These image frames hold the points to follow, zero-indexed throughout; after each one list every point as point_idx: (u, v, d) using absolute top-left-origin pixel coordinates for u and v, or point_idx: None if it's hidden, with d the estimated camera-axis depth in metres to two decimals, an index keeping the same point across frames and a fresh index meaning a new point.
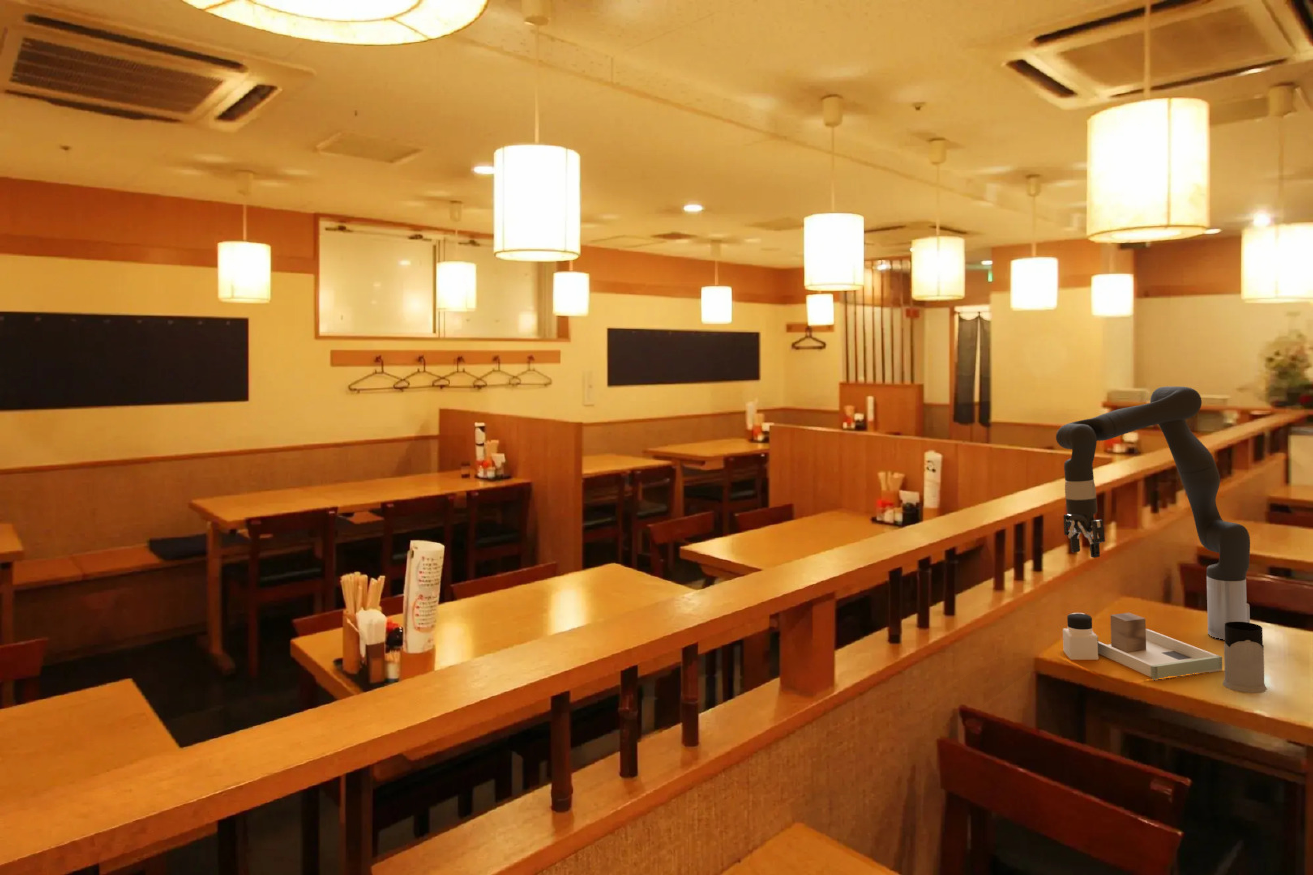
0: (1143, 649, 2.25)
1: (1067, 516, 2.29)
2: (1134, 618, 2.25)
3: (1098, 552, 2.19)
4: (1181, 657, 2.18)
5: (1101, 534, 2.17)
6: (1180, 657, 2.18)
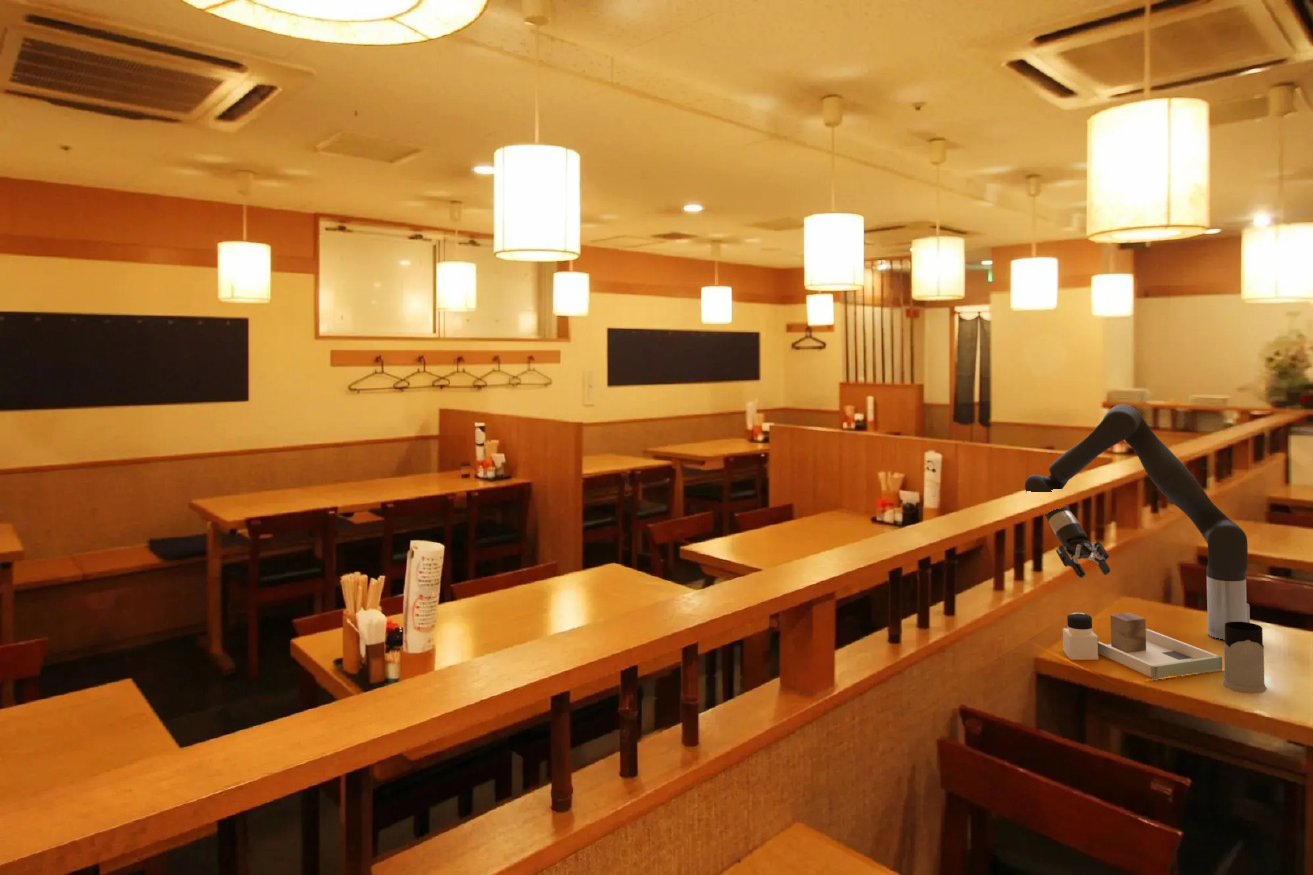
0: (1143, 649, 2.25)
1: None
2: (1134, 618, 2.25)
3: (1078, 571, 2.38)
4: (1181, 657, 2.18)
5: None
6: (1180, 657, 2.18)
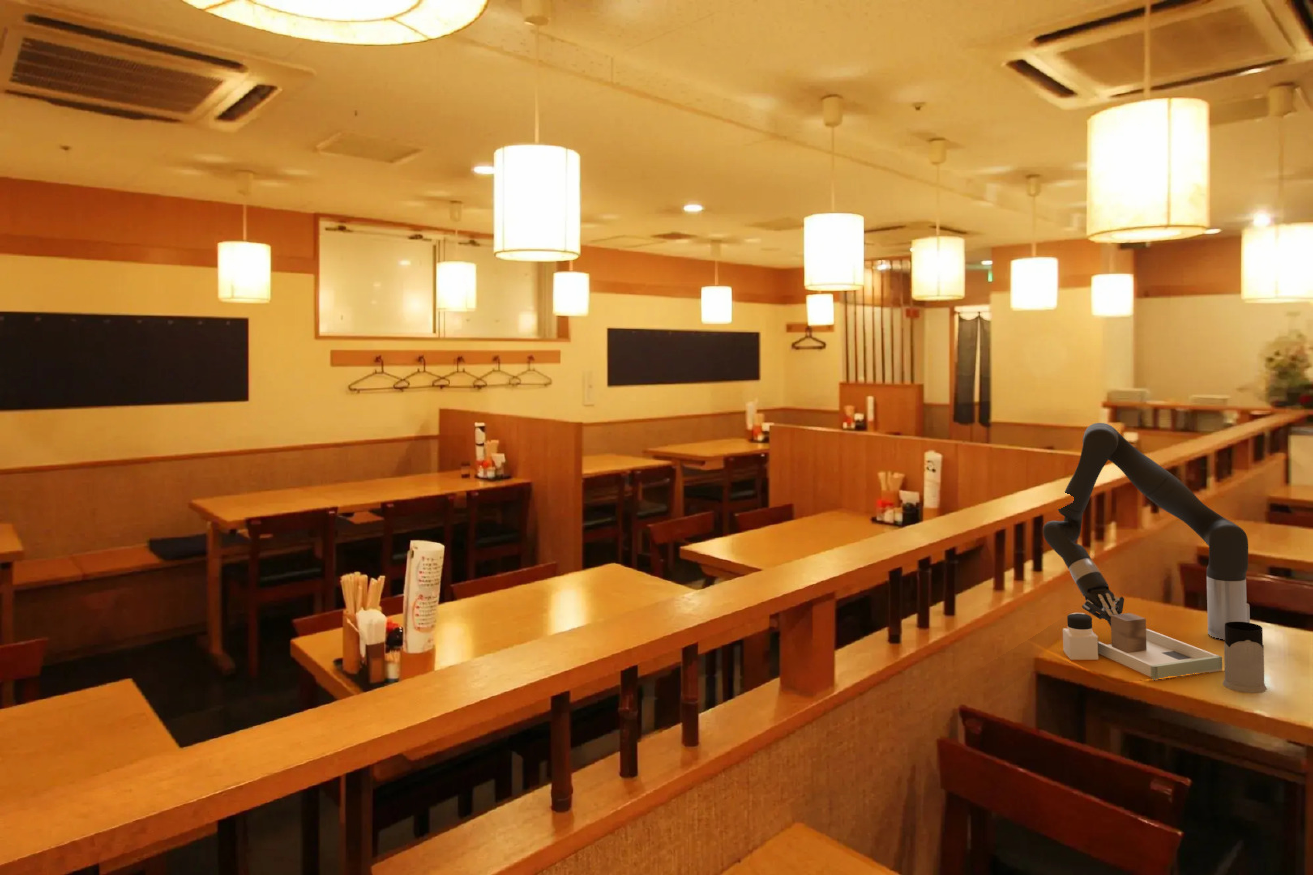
0: (1143, 649, 2.25)
1: None
2: (1134, 618, 2.25)
3: None
4: (1181, 657, 2.18)
5: None
6: (1180, 657, 2.18)
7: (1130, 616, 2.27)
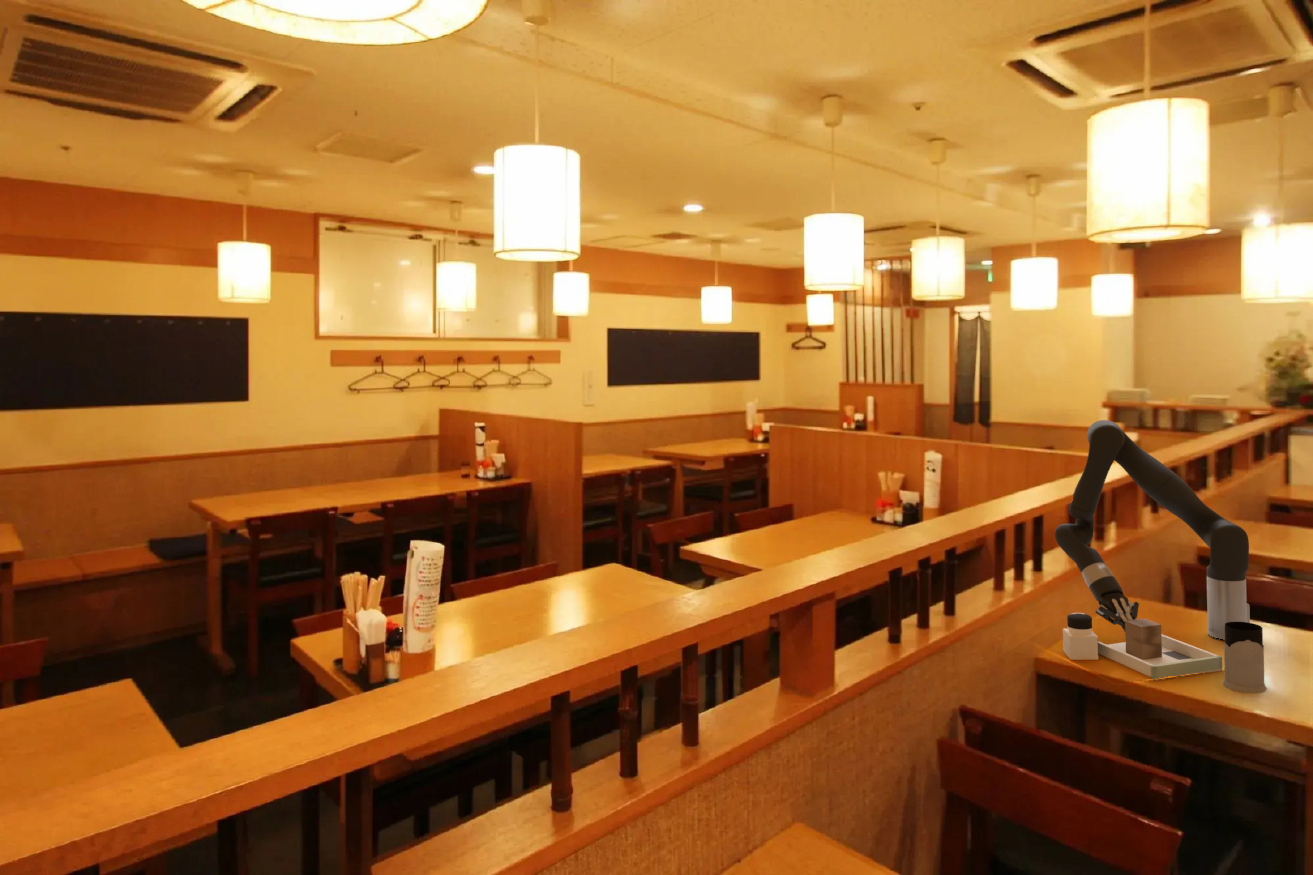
0: (1159, 656, 2.19)
1: None
2: (1149, 624, 2.20)
3: None
4: (1181, 657, 2.18)
5: None
6: (1180, 657, 2.18)
7: (1145, 622, 2.22)
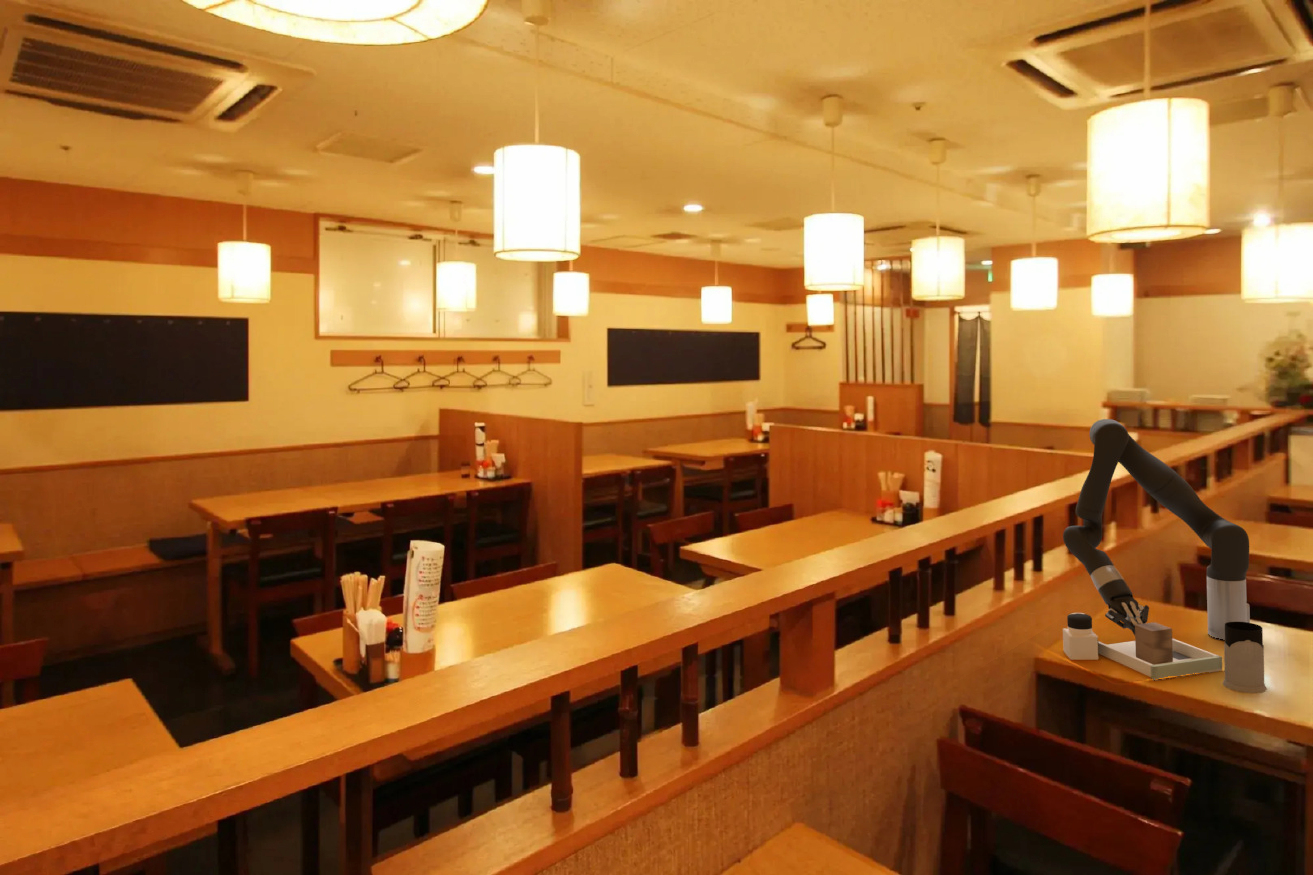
0: (1169, 660, 2.16)
1: None
2: (1160, 628, 2.16)
3: None
4: (1181, 657, 2.18)
5: None
6: (1180, 657, 2.18)
7: (1155, 626, 2.18)
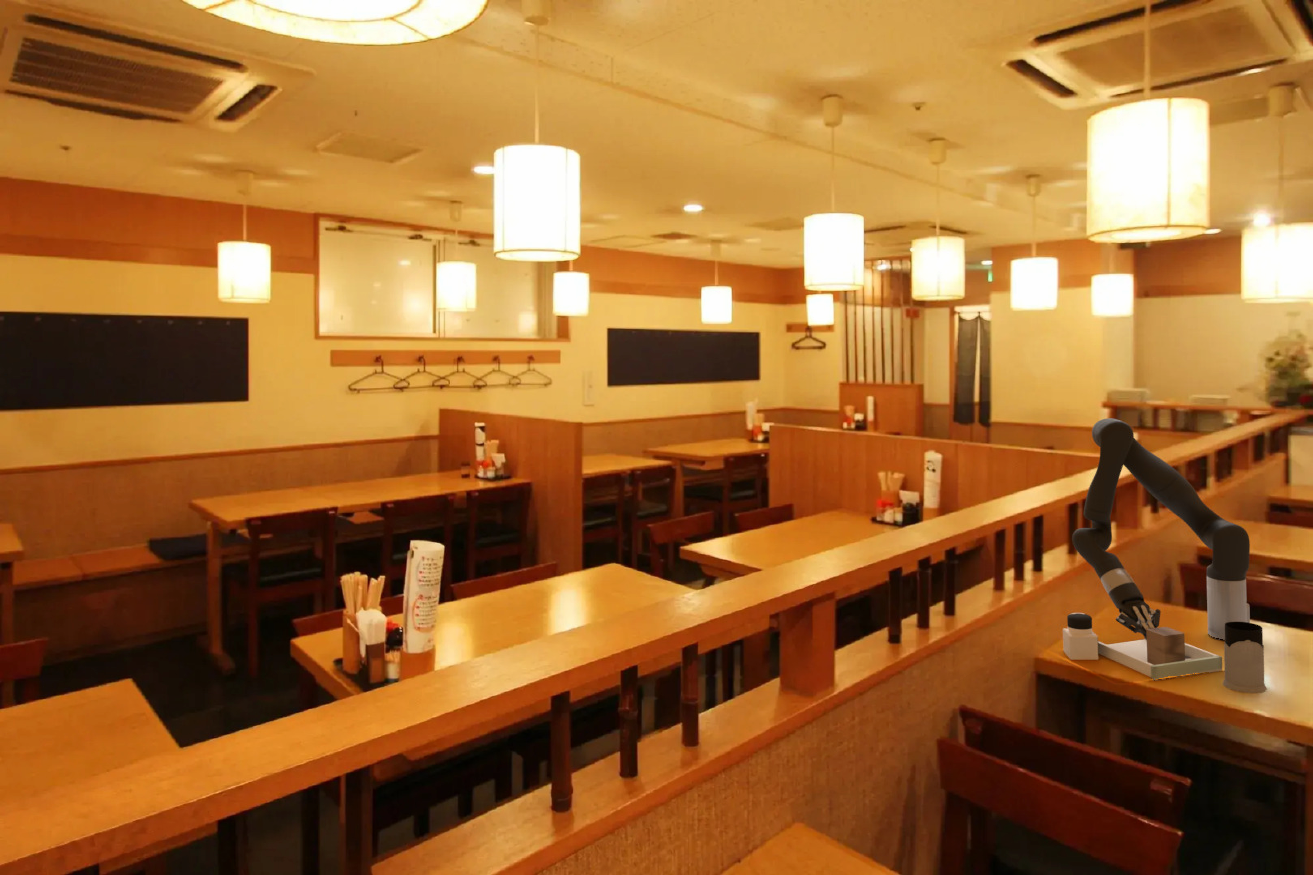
0: None
1: None
2: (1172, 632, 2.12)
3: None
4: None
5: None
6: None
7: (1167, 630, 2.14)
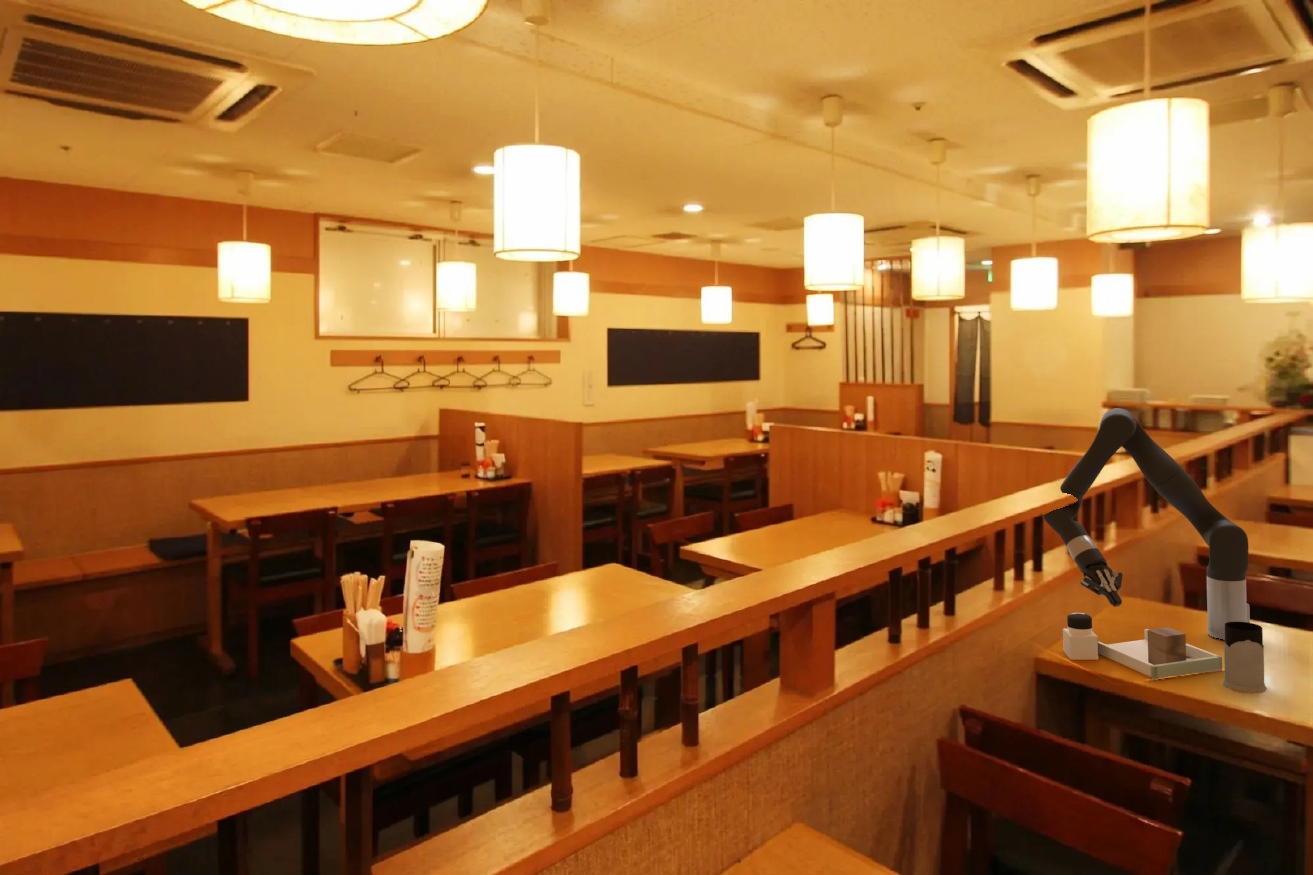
0: None
1: None
2: (1173, 633, 2.12)
3: (1111, 600, 2.31)
4: None
5: None
6: None
7: (1168, 631, 2.13)
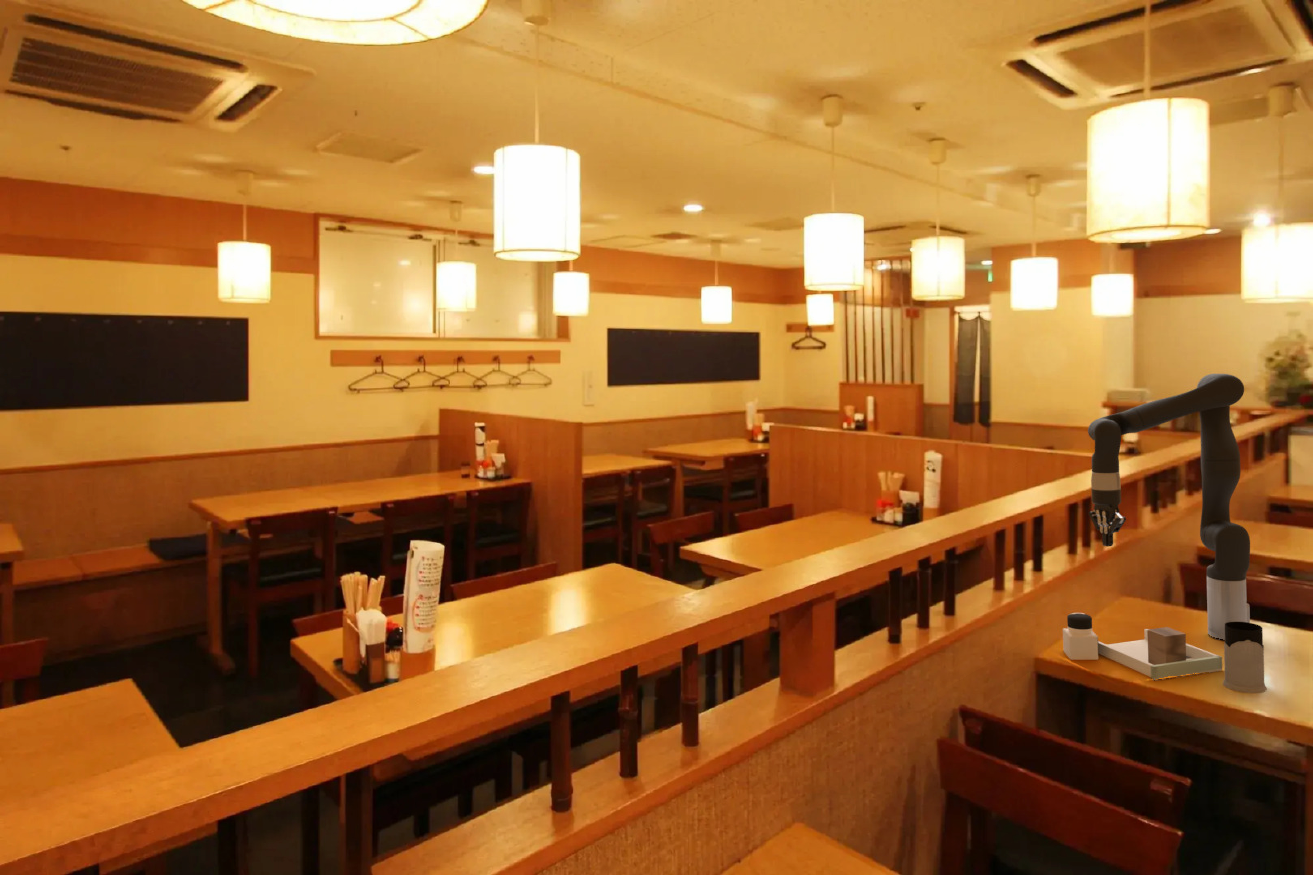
0: None
1: (1092, 512, 2.43)
2: (1173, 633, 2.12)
3: (1112, 541, 2.37)
4: None
5: (1118, 527, 2.35)
6: None
7: (1168, 631, 2.13)
